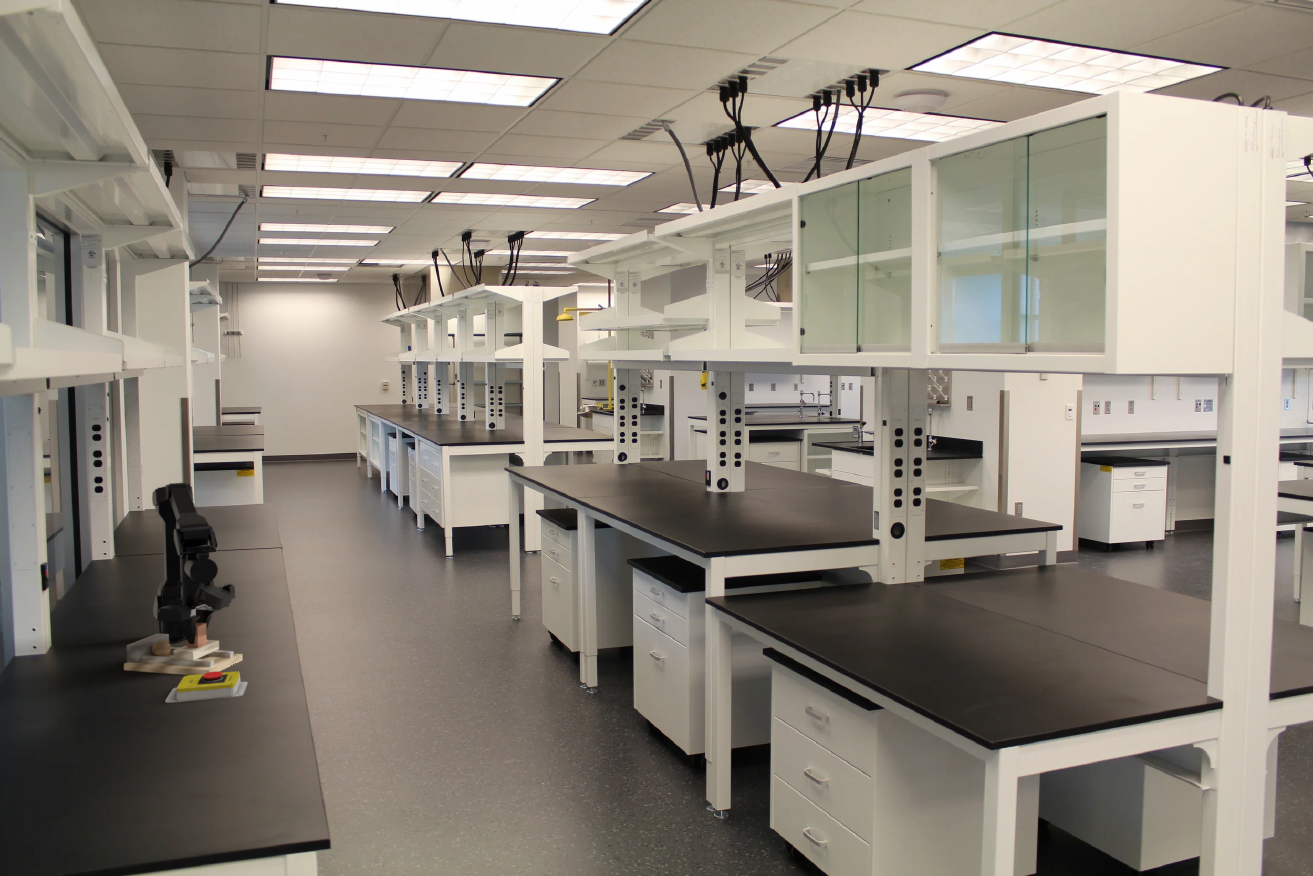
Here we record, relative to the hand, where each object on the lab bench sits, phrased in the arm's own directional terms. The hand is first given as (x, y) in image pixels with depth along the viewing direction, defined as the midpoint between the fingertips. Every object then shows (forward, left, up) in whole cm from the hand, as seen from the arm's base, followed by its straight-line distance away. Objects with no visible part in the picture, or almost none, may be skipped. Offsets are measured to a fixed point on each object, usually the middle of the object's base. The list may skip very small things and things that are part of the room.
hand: (196, 641), depth 212 cm
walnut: (-9, 0, -4) cm, 10 cm away
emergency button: (+14, -15, -6) cm, 21 cm away
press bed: (-3, 0, -6) cm, 7 cm away
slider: (0, 0, -3) cm, 3 cm away
